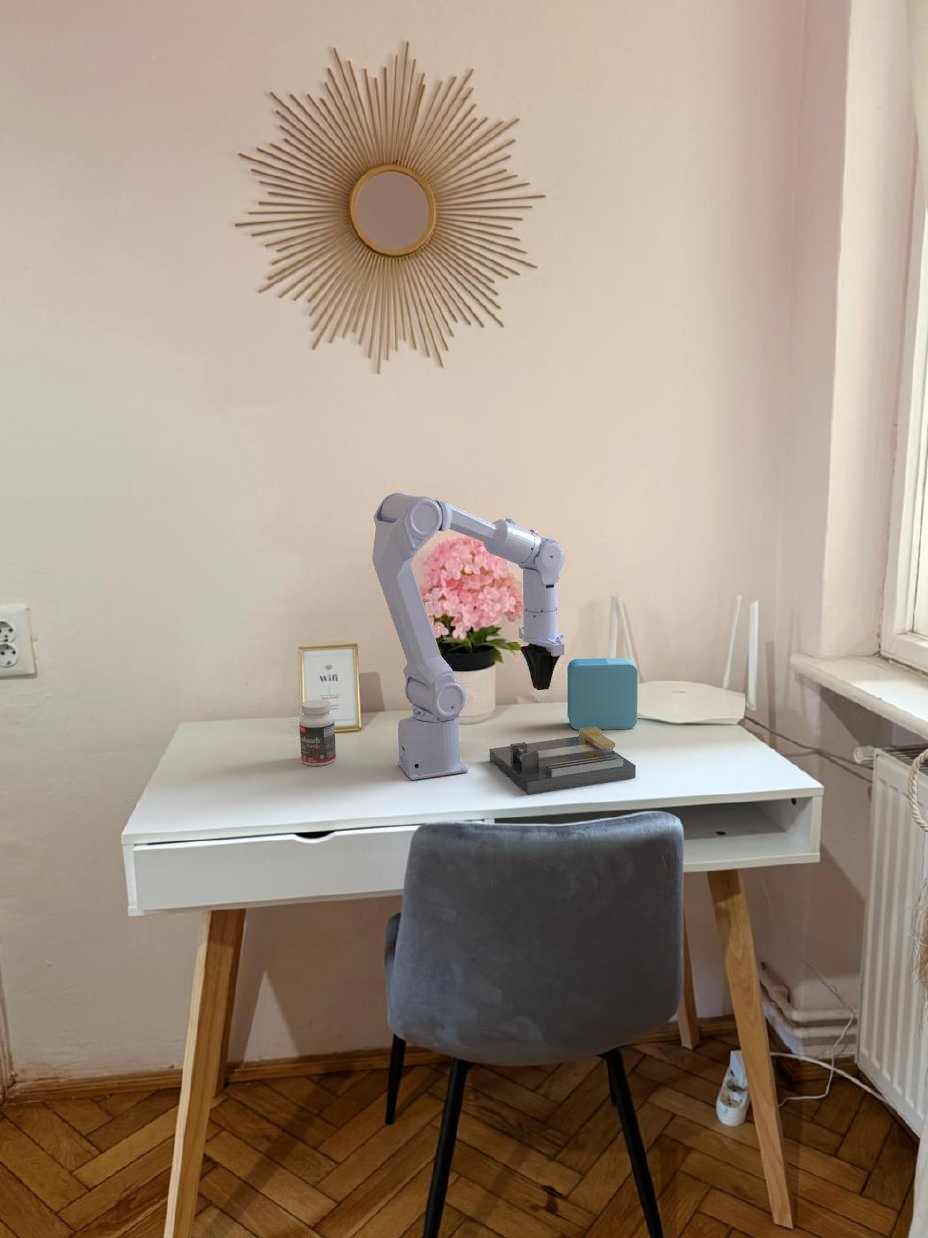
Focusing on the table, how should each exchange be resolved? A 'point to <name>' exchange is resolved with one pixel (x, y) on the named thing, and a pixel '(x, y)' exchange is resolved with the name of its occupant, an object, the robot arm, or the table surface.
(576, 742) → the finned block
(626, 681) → the data package
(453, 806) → the table surface
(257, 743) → the table surface
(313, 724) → the pill bottle
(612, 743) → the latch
